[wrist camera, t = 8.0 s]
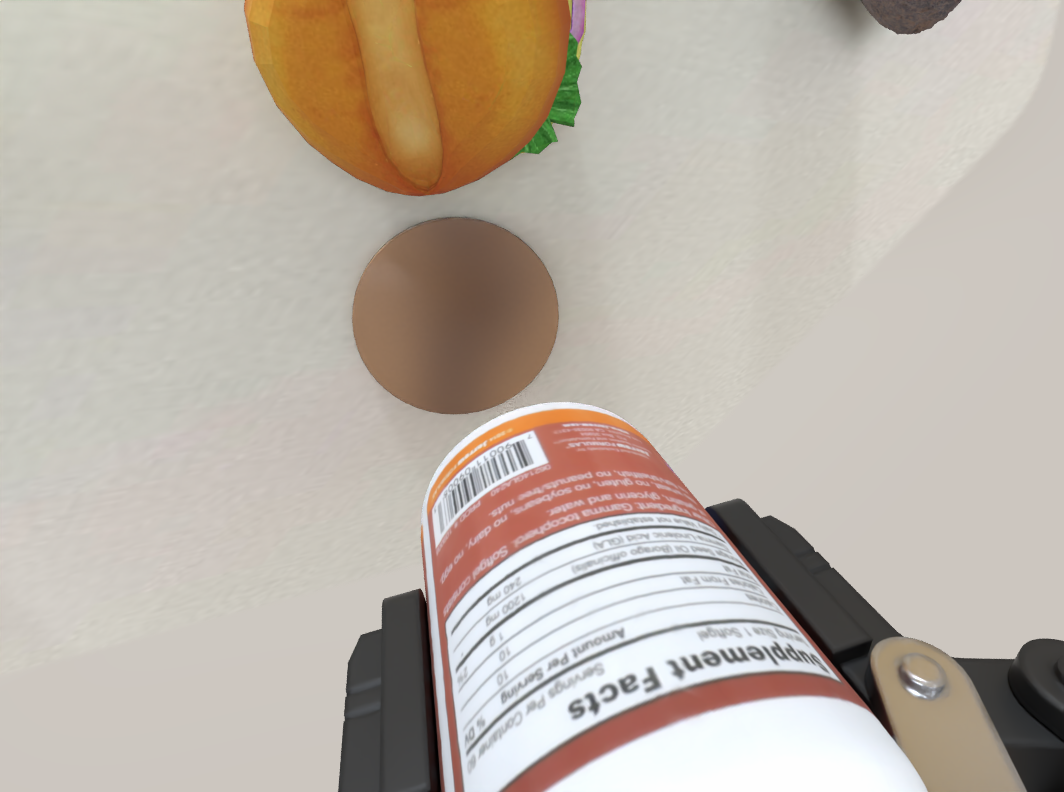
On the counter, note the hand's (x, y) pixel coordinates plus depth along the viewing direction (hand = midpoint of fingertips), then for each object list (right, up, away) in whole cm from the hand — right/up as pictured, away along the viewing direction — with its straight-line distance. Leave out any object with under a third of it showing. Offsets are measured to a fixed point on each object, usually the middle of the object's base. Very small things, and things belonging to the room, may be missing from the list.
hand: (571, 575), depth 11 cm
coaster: (-4, +7, +14) cm, 17 cm away
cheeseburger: (-5, +18, +9) cm, 21 cm away
